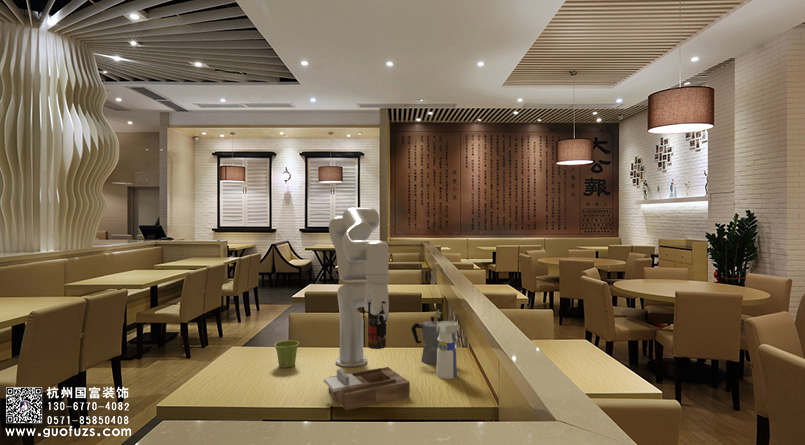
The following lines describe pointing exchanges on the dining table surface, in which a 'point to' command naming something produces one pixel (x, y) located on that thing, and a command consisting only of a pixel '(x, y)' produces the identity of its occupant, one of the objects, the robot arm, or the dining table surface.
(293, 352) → the plant pot
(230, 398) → the dining table surface
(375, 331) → the deodorant
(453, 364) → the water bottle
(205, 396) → the dining table surface
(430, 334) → the coffeepot
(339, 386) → the panel
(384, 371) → the socket block
